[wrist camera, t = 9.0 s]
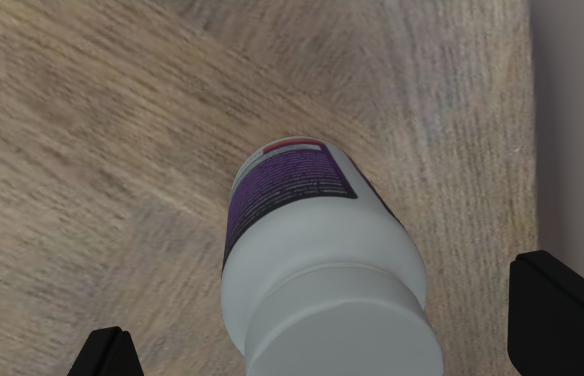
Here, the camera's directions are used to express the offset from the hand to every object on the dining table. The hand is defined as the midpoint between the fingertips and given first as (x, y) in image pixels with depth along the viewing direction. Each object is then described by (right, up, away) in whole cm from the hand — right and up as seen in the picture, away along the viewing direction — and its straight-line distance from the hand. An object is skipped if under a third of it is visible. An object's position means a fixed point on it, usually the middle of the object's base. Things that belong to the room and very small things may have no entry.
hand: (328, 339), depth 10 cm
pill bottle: (-1, +3, +7) cm, 8 cm away
